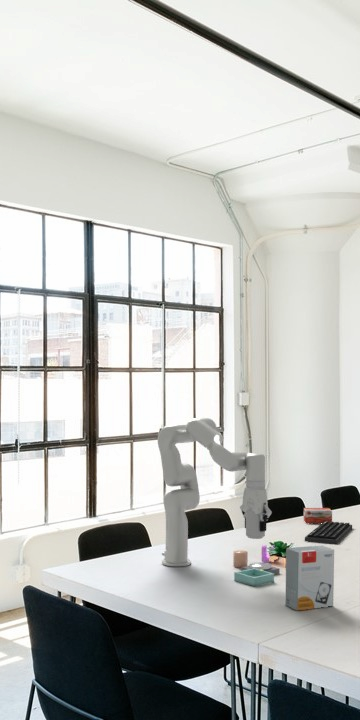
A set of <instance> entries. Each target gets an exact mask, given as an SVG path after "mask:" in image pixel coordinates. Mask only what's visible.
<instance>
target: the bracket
mask: <svg viewBox="0 0 360 720" xmlns="http://www.w3.org/2000/svg"><path fill="white" fill-rule="evenodd" d="M273 546H274V545H271V547H270V551H271V550H272V549H274V547H273ZM267 551H268V549H267V544H262V546H261V562H263V563H270V562H269V553H270V552H267Z"/></svg>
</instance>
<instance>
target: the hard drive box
mask: <svg viewBox="0 0 360 720" xmlns="http://www.w3.org/2000/svg"><path fill="white" fill-rule="evenodd" d="M334 574H335V549H333V548H331V547H328V546H326V545H325V546H324V545H311V546H309V545H308V546H299V547H298V546H297V547H296V546H295V547H286V550H285V598H284V599H285V602H284V603H285V605H284V606H287V607H289V608H291V609H292V610H295V611H307V610H306V609H308V610H312V609H313V610H314V608H315V609H322V608H321V607H326V608H329V607H328V606H332V607H334V594H335V593H334V589H335V588H334V586H335V583H334V581H335V575H334Z"/></svg>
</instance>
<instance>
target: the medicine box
mask: <svg viewBox="0 0 360 720" xmlns="http://www.w3.org/2000/svg"><path fill="white" fill-rule="evenodd" d="M304 521H305V522H306V523H323V522H324V521H328V522H333V511H332V510H331V508H330V507H303V522H304ZM305 522H304V523H305Z"/></svg>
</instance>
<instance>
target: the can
mask: <svg viewBox="0 0 360 720" xmlns="http://www.w3.org/2000/svg"><path fill="white" fill-rule="evenodd" d="M252 509H253V508H249V509H248V510H247V511H246V528H245V536H246V537H247V538H248V539H253V540H260V539H263V538H264V537H265V535H266V534H265V533H266V531H262V532H261V531H260V521H261V519H260V517H259V515H256V514H255V512H254V511H253V510H252ZM262 513H264V512H262ZM262 516H263V517H264V515H262Z"/></svg>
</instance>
